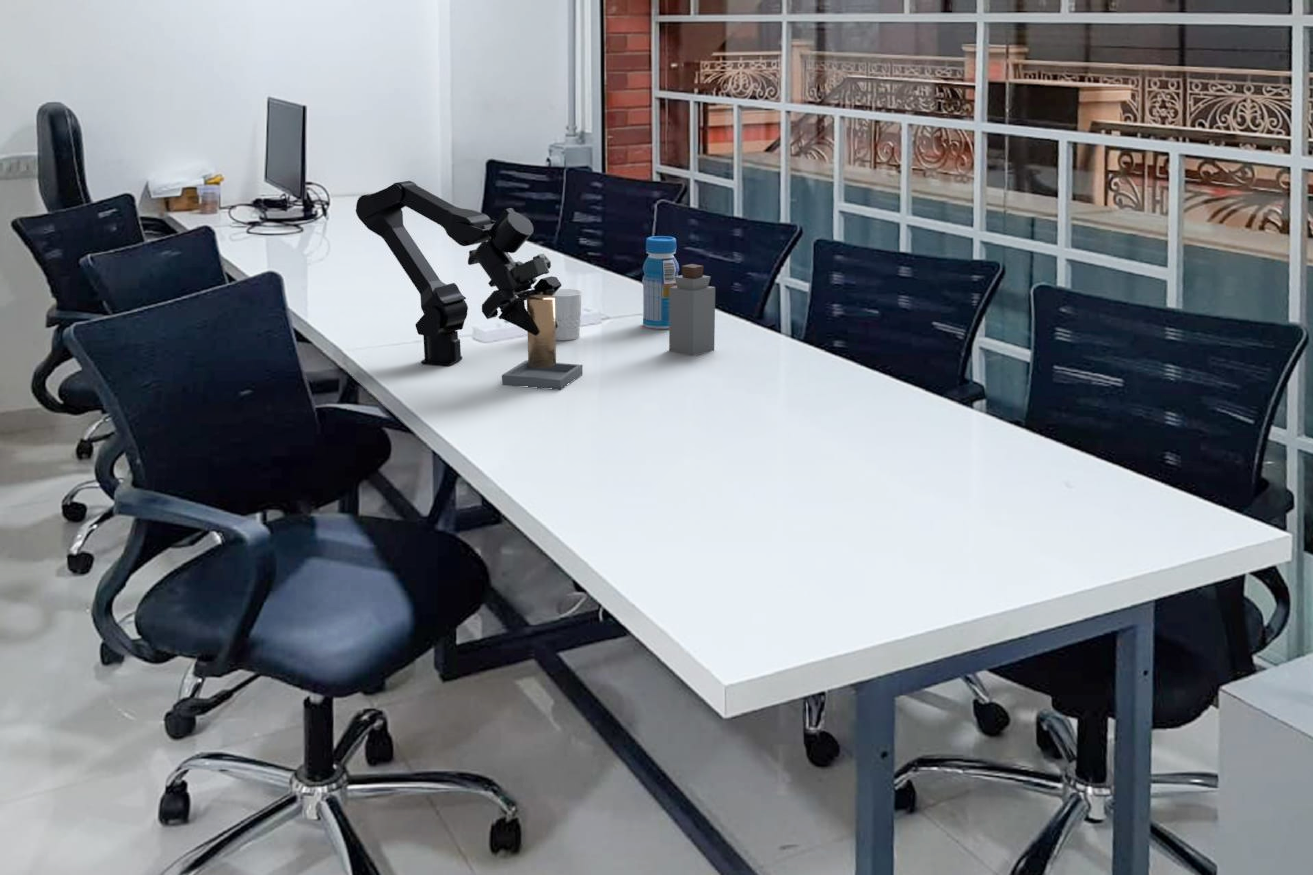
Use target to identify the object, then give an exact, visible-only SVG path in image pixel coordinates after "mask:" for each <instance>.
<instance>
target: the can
mask: <svg viewBox="0 0 1313 875" xmlns="http://www.w3.org/2000/svg"><path fill="white" fill-rule="evenodd" d="M526 310H527V312H528V313H529V315H530V317H531V318H532V320H533V321H534V323H535V324H536V326H537V328H538V330H539V334H538V335H536V336H535V335H533V334H531V333H529V332H528V331H526V332H527V360H528V365H530V366H534V367H549V366H553V365H555V364H556V363H557V352H556V351H557V346H556V344H557V343H556V341H557V340H556V326H555V297H554V296H551V295H532V296H528V297H527V300H526Z"/></svg>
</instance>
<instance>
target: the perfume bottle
mask: <svg viewBox="0 0 1313 875" xmlns="http://www.w3.org/2000/svg"><path fill="white" fill-rule="evenodd" d="M674 278H675V281H676V285H677V286H674V287H670V295H669V329H668V330H669V332H668V335H669V336H668V337H669V338H668V344H669V346H668V347H669V348H668V350H669V351H671V352H674V353H679V354H684V355H688V356H693V357H694V356H697V355H702V354H704V353H709V352H712V351H715V332H716V331H715V328H716V327H715V326H716V325H715V322H716V320H715V319H716V287H715V286H709V283H710V280H711V278H712V277H711V276H709V275H704V265H699V264H695V263H690V264H685V265H681V275H678V276H675V277H674Z"/></svg>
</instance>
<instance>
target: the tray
mask: <svg viewBox="0 0 1313 875" xmlns="http://www.w3.org/2000/svg"><path fill="white" fill-rule="evenodd" d="M583 372H584V371H583V364H576V363H562V362H556V364H555V365H553V366H549V367H534V366H530V365H528V359H526V360H524V361H522V362H521V363H520V364H519V363H518V364H517V365H516V366H514V367H513V368H511V369H510V370H508V371H506V372H504V373H503V374H501V384H502V386H509V387H518V386H528V387H527V388H530V387H537V388H536V389H541V388H552V389H551V390H553V389H558V390H557V391H562V390H563V389H564V388H566V387H567V386H568V385H567V384H568V383H570V382H571V381H573V380H574V379H576V378H577V377H579V376H580V375H581V376H583V375H584V374H583ZM582 374H583V375H582ZM581 376H580V377H581ZM580 377H579V378H580ZM577 379H578V378H577ZM577 379H576V380H577ZM574 381H575V380H574ZM574 381H573V382H574ZM570 384H571V383H570ZM565 386H566V387H565ZM562 388H563V389H562ZM561 389H562V390H561Z"/></svg>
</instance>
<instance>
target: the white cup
mask: <svg viewBox="0 0 1313 875" xmlns="http://www.w3.org/2000/svg"><path fill="white" fill-rule="evenodd" d="M553 296H554V297H555V319H556V322H557V325H558V327H557V328H556V341H572V340H577V339H579V338H580V335H581V334H580V333H581V330H580V326H581V315H582V291H581V290H580V289H579V290H578V289H574V288H573V289H571V288H559V289H558V290H557V291H556V292H555V293H554V295H553Z"/></svg>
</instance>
